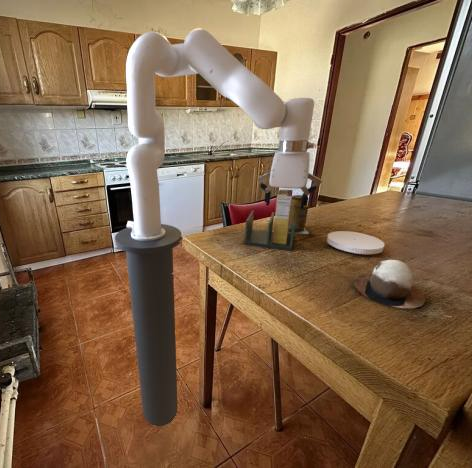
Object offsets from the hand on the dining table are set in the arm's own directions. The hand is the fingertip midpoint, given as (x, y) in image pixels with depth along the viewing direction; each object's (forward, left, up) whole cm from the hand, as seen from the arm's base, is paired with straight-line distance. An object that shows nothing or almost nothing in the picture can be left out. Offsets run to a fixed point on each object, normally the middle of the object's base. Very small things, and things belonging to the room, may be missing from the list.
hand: (284, 206), depth 79 cm
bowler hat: (+23, -20, -12) cm, 33 cm away
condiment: (+4, +14, -12) cm, 19 cm away
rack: (-3, 0, -12) cm, 12 cm away
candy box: (0, 0, -11) cm, 11 cm away
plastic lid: (+20, +4, -12) cm, 24 cm away
